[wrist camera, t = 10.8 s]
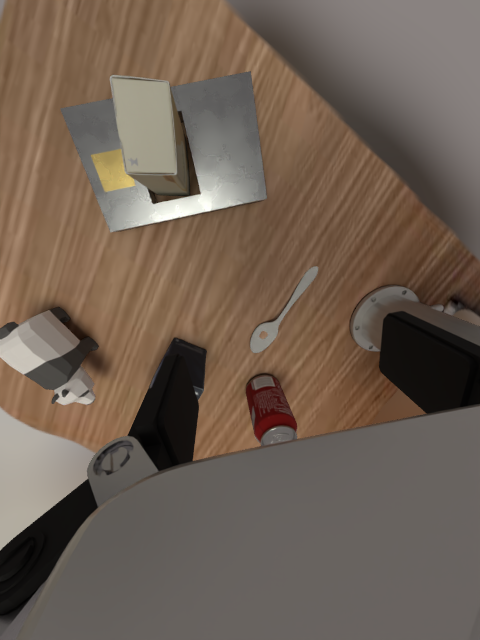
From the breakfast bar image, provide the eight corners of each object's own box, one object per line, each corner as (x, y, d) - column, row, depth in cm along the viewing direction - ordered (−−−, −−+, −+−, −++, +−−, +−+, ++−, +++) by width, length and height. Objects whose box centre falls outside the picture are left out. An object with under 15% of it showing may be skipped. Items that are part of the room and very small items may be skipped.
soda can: (247, 372, 42) (260, 424, 31) (281, 372, 43) (305, 423, 32) (243, 400, 45) (253, 457, 34) (275, 400, 46) (296, 455, 35)
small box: (172, 335, 38) (159, 373, 28) (207, 349, 39) (206, 389, 30) (149, 382, 41) (130, 431, 31) (183, 393, 43) (175, 442, 33)
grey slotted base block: (246, 87, 26) (250, 70, 24) (262, 200, 31) (267, 198, 28) (76, 120, 26) (59, 108, 23) (119, 231, 31) (110, 232, 28)
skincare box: (190, 196, 30) (179, 180, 19) (157, 195, 30) (124, 178, 18) (186, 136, 28) (170, 77, 16) (149, 134, 27) (106, 72, 16)
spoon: (242, 343, 40) (243, 347, 39) (318, 243, 35) (323, 243, 33) (260, 353, 42) (262, 358, 40) (336, 258, 36) (342, 259, 35)
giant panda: (25, 315, 34) (-40, 348, 25) (55, 297, 33) (-1, 324, 24) (96, 382, 39) (64, 427, 31) (123, 367, 39) (97, 409, 30)
